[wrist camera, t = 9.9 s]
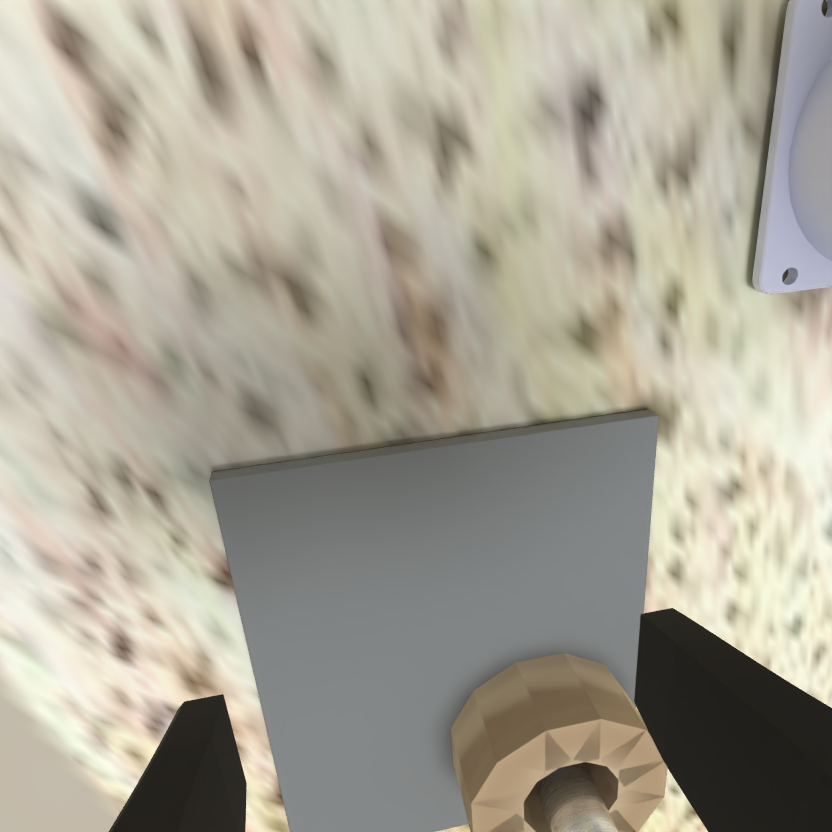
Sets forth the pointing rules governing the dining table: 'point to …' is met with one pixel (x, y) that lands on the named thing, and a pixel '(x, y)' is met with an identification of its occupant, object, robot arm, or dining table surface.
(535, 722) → the maple bead
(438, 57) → the dining table surface
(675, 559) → the dining table surface
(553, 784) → the steel peg
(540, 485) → the mat
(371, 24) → the dining table surface
